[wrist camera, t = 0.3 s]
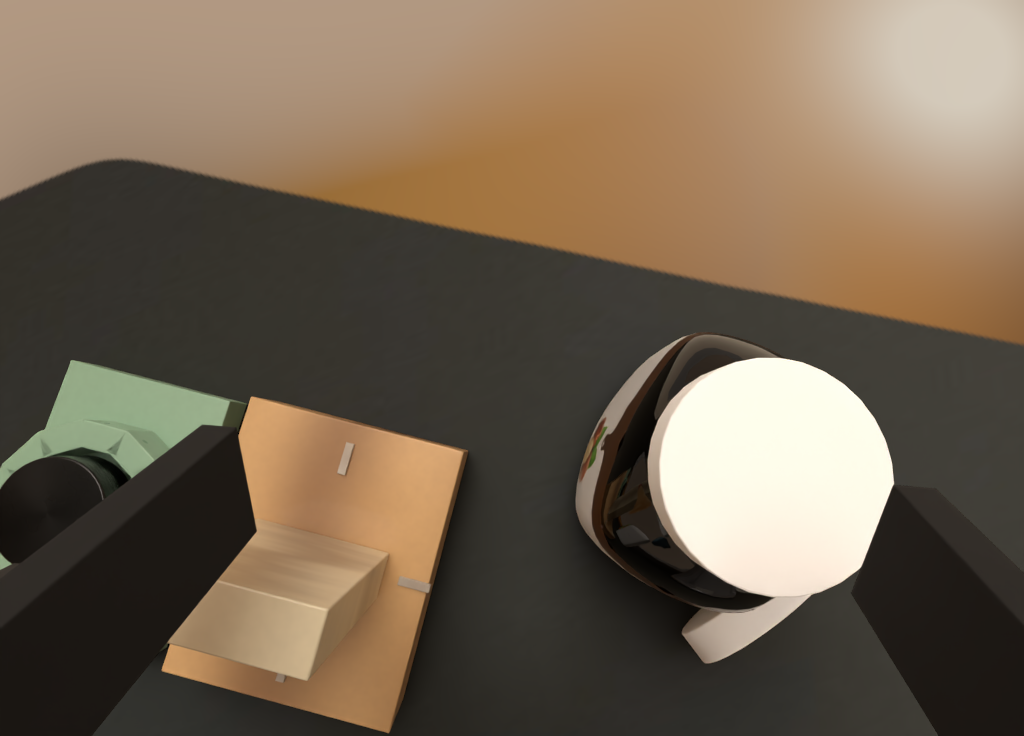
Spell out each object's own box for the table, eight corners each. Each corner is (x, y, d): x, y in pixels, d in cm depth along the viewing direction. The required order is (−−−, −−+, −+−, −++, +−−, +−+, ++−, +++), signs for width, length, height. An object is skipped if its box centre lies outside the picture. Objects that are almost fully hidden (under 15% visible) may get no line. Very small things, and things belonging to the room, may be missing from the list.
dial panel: (470, 451, 27) (465, 452, 24) (405, 700, 25) (390, 736, 22) (276, 401, 27) (246, 395, 24) (199, 644, 25) (155, 672, 22)
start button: (112, 575, 23) (80, 586, 21) (11, 548, 23) (-30, 557, 21) (150, 469, 23) (121, 472, 22) (51, 443, 23) (14, 443, 22)
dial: (389, 552, 23) (326, 612, 15) (376, 599, 23) (304, 686, 15) (257, 517, 23) (122, 557, 15) (243, 563, 23) (97, 630, 15)
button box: (167, 647, 25) (113, 679, 22) (8, 604, 25) (-70, 629, 22) (247, 403, 27) (209, 397, 23) (97, 364, 27) (38, 353, 24)
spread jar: (636, 339, 28) (730, 264, 16) (834, 443, 27) (1080, 443, 15) (527, 549, 26) (545, 633, 14) (735, 666, 25) (927, 850, 14)
